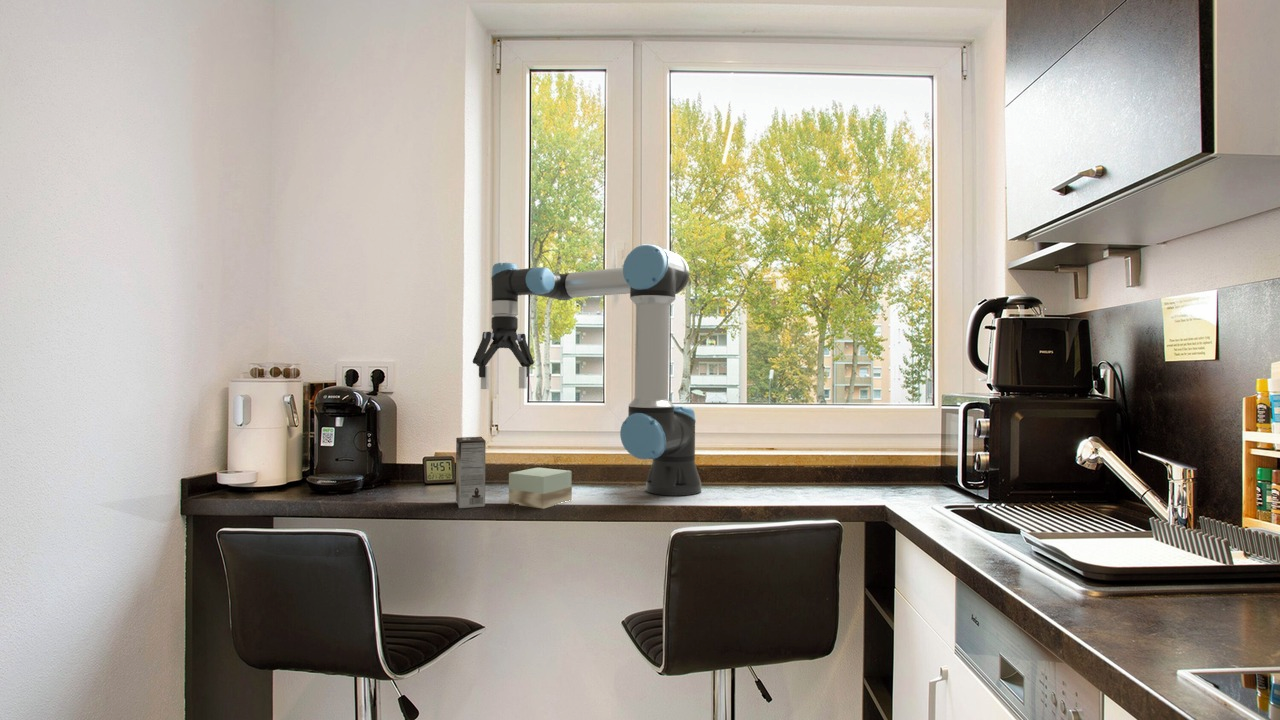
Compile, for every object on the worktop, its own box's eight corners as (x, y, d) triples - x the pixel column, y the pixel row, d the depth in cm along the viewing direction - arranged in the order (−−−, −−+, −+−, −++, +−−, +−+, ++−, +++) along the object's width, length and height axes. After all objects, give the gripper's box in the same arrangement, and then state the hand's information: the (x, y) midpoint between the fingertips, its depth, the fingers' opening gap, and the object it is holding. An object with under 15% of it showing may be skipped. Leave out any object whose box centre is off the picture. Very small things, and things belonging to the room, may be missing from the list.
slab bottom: (571, 502, 160) (571, 486, 160) (543, 510, 150) (543, 493, 150) (538, 498, 165) (538, 482, 165) (508, 505, 156) (508, 489, 156)
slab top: (571, 486, 160) (571, 470, 160) (543, 493, 151) (543, 476, 151) (537, 482, 166) (537, 467, 166) (508, 489, 156) (508, 473, 156)
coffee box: (454, 501, 158) (455, 437, 159) (481, 499, 161) (481, 436, 161) (458, 508, 150) (459, 440, 150) (486, 506, 152) (486, 439, 152)
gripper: (529, 319, 198) (529, 387, 197) (460, 314, 179) (459, 389, 178) (545, 318, 193) (545, 388, 192) (476, 312, 174) (475, 389, 173)
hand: (504, 388), depth 185 cm, fingers open, 13 cm apart
